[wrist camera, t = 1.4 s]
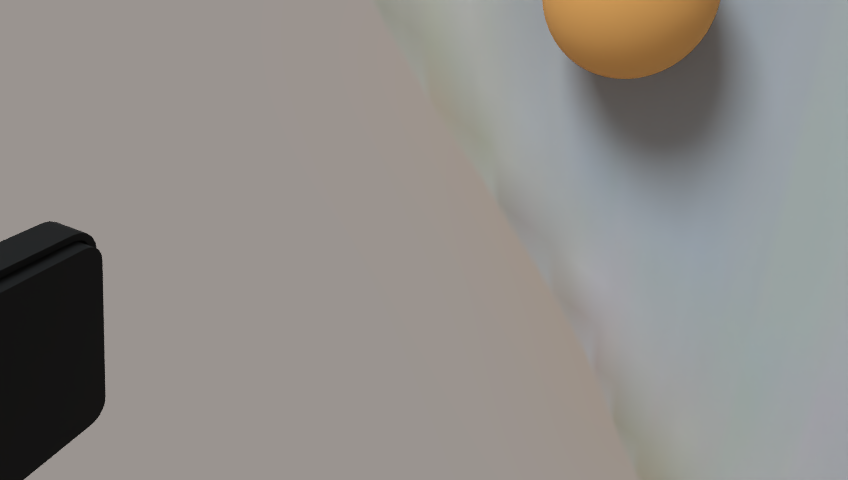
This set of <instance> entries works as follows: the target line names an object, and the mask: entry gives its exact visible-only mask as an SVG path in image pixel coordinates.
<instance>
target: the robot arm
mask: <svg viewBox="0 0 848 480" xmlns="http://www.w3.org/2000/svg"><path fill="white" fill-rule="evenodd" d="M104 362H105V361H104V317H103V271H102V255H101V253H100V251H99V250H98V249H96V243H95V241H94V239H93V238H92V237H91V236H90V235H88V234H87V233H84V232H81V231H78V230H76V229H73V228H70V227H68V226H65V225H62V224H60V223H57V222H50V221H49V222H45V223H42V224H39V225H37V226H35V227H33V228H30V229H28V230H26V231H24V232H22V233H19V234H17V235H15V236H12V237H10V238H8V239H6V240H3V241H1V242H0V480H24V479H25V478H26V477H27V476H29V475H30V474H31V473H32V472H33V471H35V470H36V469H37V468H38V467H40V466H41V465H42V464H43V463H44V462H46V461H47V460H48V459H50V458H51V457H52V456H53V455H54V454H56V453H57V452H58V451H59V450H61V449H62V448H63V447H64V446H66V445H67V444H68V443H69V442H70V441H72V440H73V439H74V438H75V437H77V436H78V435H79V434H80V433H81V432H83V431H84V430H85V429H86V428H88V427H89V426H90V425H91V424H92V423H93V422H94V421H95V420H96V419H97V418H98V416H99V415H100V413H101V411H102V409H103V406H104V403H105V364H104Z"/></svg>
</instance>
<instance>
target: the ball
mask: <svg viewBox="0 0 848 480" xmlns="http://www.w3.org/2000/svg"><path fill="white" fill-rule="evenodd" d="M542 1H543V10H544V15H545V19H546V22H547V25H548V28H549V31H550V33H551V35H552V36H553V38H554V40H555V42H556V43H557V45H558V46H559V47H560V49H561V50H562V51H563V52H564V53H565V54H566V55H567V57H569V58H570V59H571V60H572V61H573V62H575V63H576V64H577V65H579V66H580V67H582V68H584V69H585V70H588V71H590V72H592V73H594V74H597V75H601V76H604V77H609V78H616V79H633V78H641V77H645V76H650V75H653V74H655V73H658V72H661V71H663V70H665V69H667V68H669V67H671V66H673V65H674V64H676V63H677V62H679V61H680V60H682V59H683V58H684V57H685V56H686V55H688V54H689V53H690V52H691V51H692V50H693V49H694V48H695V47H696V46H697V45H698V44H699V43H700V41H701V40H702V38H703V37H704V36H705V34H706V33H707V31H708V29H709V28H710V26H711V24H712V22H713V20H714V18H715V15H716V13H717V10H718V7H719V3H720V0H542Z"/></svg>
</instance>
